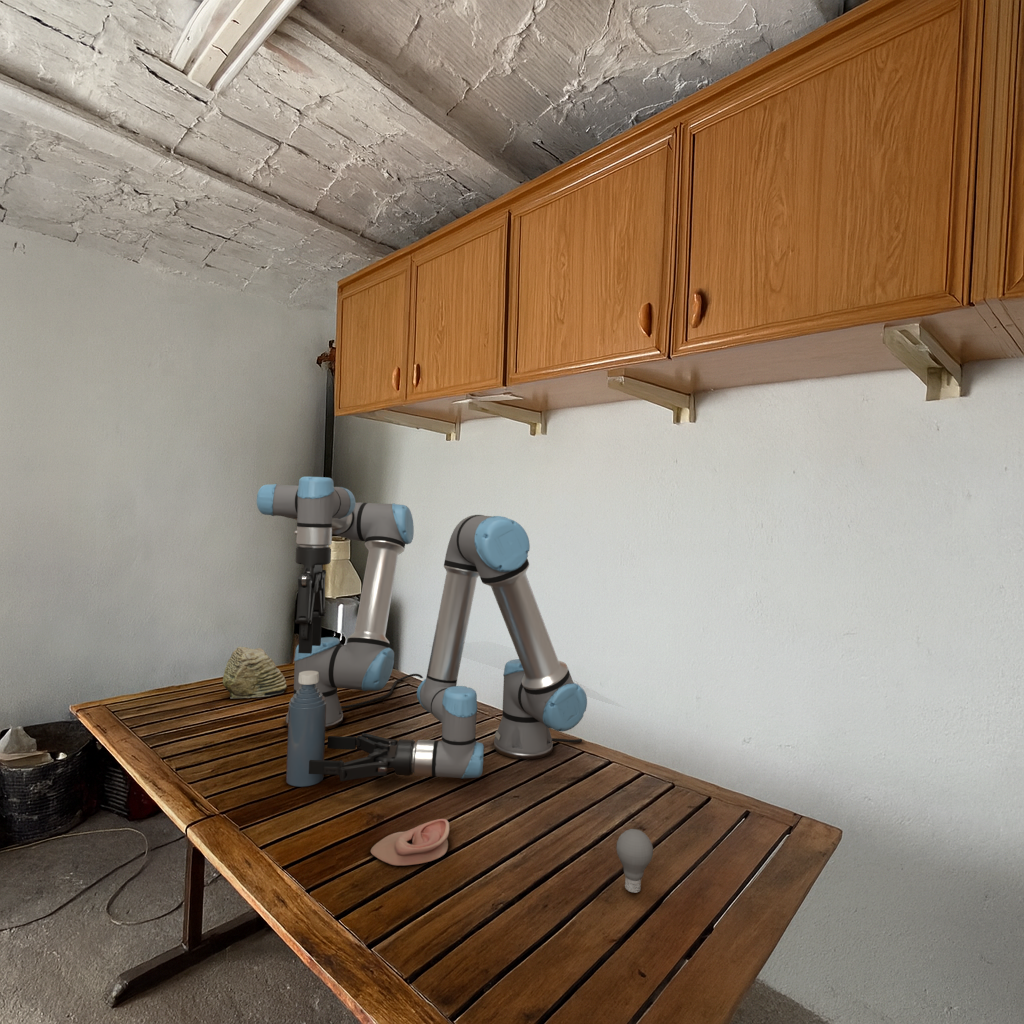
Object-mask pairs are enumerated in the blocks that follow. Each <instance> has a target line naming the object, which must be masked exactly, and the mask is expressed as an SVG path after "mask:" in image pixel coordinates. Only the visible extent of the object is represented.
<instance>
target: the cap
mask: <svg viewBox="0 0 1024 1024" xmlns="http://www.w3.org/2000/svg"><path fill="white" fill-rule="evenodd" d="M318 681H319V672H317V671H303V672H300V673H299V683H300V684H304V685H311V684H316V683H318Z"/></svg>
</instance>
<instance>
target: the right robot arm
mask: <svg viewBox="0 0 1024 1024" xmlns="http://www.w3.org/2000/svg"><path fill="white" fill-rule="evenodd" d="M530 545H531V543H530V539H529V536H528V533H527V531H526V529H525V528H524V527H523V526H522V525H521V524H520V523H519V522H517V521H515V520H514V519H511V518H508V517H506V516H501V515H493V516H492V515H483V514H473V515H469V516H466V517H465V518H463V519H462V520H461V521H459V522H458V523H457V525H456V526H455V527H454V529H453V531H452V533H451V535H450V537H449V541H448V544H447V548H446V552H445V556H444V563H443V567H444V569H445V571H446V573H445V574H446V575H445V579H444V584H443V589H442V594H441V599H440V603H439V610H438V614H437V615H438V616H437V620H436V625H435V631H434V635H433V642H432V646H431V652H430V656H429V660H428V661H429V662H428V666H427V672H426V676H425V677H426V678H425V679H423V680H422V681H421V682H420V683H419V685H418V687H417V690H416V699H417V701H418V703H419V704H420V705H421V707H422V708H423V709H424V711H426V712H428V713H430V714H431V715H432V716H433V717H434V718H435V719H436V720H437V721H439V722H440V723H441V740H435V739H417V741H416V740H414V739H403V738H401V739H399V740H398V739H390V738H385V737H382V736H378V735H374V734H370V733H366V732H363V733H361V735H358V736H344V735H343V736H342V735H341V736H339V735H328V736H327V740H326V748H327V750H350V751H351V750H352V751H355V750H356V751H363V752H365V753H367V754H368V755H367V756H365V757H361V758H356V759H353V760H349V761H346V762H345V761H343V760H342V759H340V760H325V759H324V760H310V761H309V774H323V775H326V776H338V777H339V781H340V782H346V781H353V780H358V779H365V778H370V777H376V776H378V777H379V776H380V777H381V776H382V777H383V776H387V775H388V769H393V770H394V774H395V775H396V776H402V777H404V776H405V777H406V776H407V777H411V776H412V775H414V776H415V777H424V778H425V779H428V778H429V777H434V778H435V777H437V778H452V779H453V778H455V779H462V780H463V779H477V778H480V777H482V775H483V774H484V773H483V772H484V758H485V757H484V755H485V745H484V743H483V742H479V741H477V739H476V729H477V715H478V714H477V713H478V695H477V691H476V690H475V688H472V687H467V686H465V685H457V684H458V677H459V671H460V668H461V663H462V657H463V654H464V653H463V652H464V647H465V642H466V637H467V632H468V627H469V621H470V616H471V613H472V606H473V601H474V596H475V592H476V591H475V590H476V587H477V580H478V578H480V581H481V583H482V584H483V585H486V586H489V587H490V588H491V590H492V593H493V595H494V599H495V600H496V604H497V607H498V608H499V611H500V613H501V617H502V619H503V621H504V624H505V626H506V629H507V631H508V634H509V637H510V639H511V643H512V644H513V647H514V649H515V651H516V655H517V657H518V658H516V659H511V660H508V661H507V662H506V663H505V664H504V669H503V689H502V712H501V713H502V714H501V715H502V716H501V719H500V722H499V725H498V727H497V730H496V731H495V733H494V739H493V741H494V742H493V748H494V751H496V752H497V753H498V754H499V755H502V756H505V757H507V758H512V759H518V760H537V759H542V758H544V757H547V756H549V755H551V754H552V752H553V745H554V743H553V742H555V743H556V742H558V743H569V744H570V743H571V744H572V743H573V744H575V743H576V744H578V743H582V742H583V739H582V738H578V739H577V738H576V739H572V738H571V739H570V738H560V737H559V738H557V737H552V734H551V729H552V730H554V731H556V732H566V731H569V730H571V729H574V728H575V727H576V726H577V725H578V724H579V723H580V722H581V721H582V719H583V717H584V714H585V712H586V711H587V708H588V697H587V693H586V692H585V690H584V689H583V687H582V686H581V685H580V684H578V683H575V682H574V681H573V678H572V675H571V673H570V669H569V667H568V665H567V664H566V663H565V662H564V661H561V660H559V659H558V656H557V653H556V651H555V648H554V645H553V643H552V640H551V637H550V635H549V631H548V629H547V626H546V623H545V621H544V619H543V615H542V613H541V610H540V607H539V605H538V602H537V599H536V596H535V594H534V592H533V589H532V587H531V584H530V581H529V579H528V575H527V571H528V570H529V567H530V562H529V559H528V556H529V552H530V550H531V549H530V548H531V546H530Z"/></svg>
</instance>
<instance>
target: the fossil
mask: <svg viewBox="0 0 1024 1024" xmlns="http://www.w3.org/2000/svg"><path fill="white" fill-rule="evenodd" d="M222 676H223V677H222V685H223V687H224V688H225V690H226V691H228V693H229V698H230V699H250V698H264V697H271V696H275V695H281V694H284V693H285V691H286V689H287V687H288V686H287V680H286V678H285V676H284V674H283V673H282V672H281V669H279V668H278V667H277V665H276V663H275V662H274V660H273V659H272V658H271V657H270V656H269V655H268V654H267V653H266V652H265V650H264V649H263V648H260V647H258V648H251V647H247V646H246V647H245V646H238V647H237V648H236V649H235V650H233V651H232V653H231V656H230V657H229V659H228V660H227V663H226V666H225V668H224V671H223V675H222Z"/></svg>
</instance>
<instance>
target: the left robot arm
mask: <svg viewBox="0 0 1024 1024" xmlns="http://www.w3.org/2000/svg"><path fill="white" fill-rule="evenodd" d="M256 506H257V510H258V511H259V512H260V513H261V514H262V515H265V516H271V517H284V518H288V519H292V520H295V521H296V529H295V530H294V533H293V534H294V535H296V539H295V540H296V544H297V546H296V548H295V560H294V561H295V563H296V564H298V565H303V571H302V572H301V575H299V576H298V577H297V585H298V586H297V604H296V617H295V621H294V623H295V624H298V625H299V626H298V644H297V645H296V647H295V652H294V653H295V654H294V659H293V661H294V672H293V695H294V694H296V692H297V690H299V688H300V687H301V685H302V684H300V683H299V673H300V672H303V671H317V672H319V681H318V683H316V684H315V686H317V689H319V690H320V692H321V693H322V694H323V696H324V697H325V700H326V725H325V731H329V730H332V729H335V728H337V727H339V726H340V725H342V723H343V722H344V714H343V710H344V709H351V708H356V707H359V706H365V705H367V704H371V703H373V702H377V701H381V700H383V699H386V698H388V697H389V696H391V695H392V694H393V691H394V689H395V688H396V685H397V684H398V683H399V682H402V681H403V680H406V679H409V678H412V677H419V678H420V679H423V678H424V677H423V675H422V674H419V673H410V674H407V675H405V676H403V677H400V678H397V679H395V681H394V682H393V684H392V686H391V688H390V690H389V692H387V693H386V694H384V695H382V696H379V697H375V698H372V699H369V700H368V699H367V700H365V701H364V700H363V701H361V702H356V703H352V704H347V705H341V702H340V699H339V695H338V689H345V690H356V691H363V692H368V691H370V692H377V691H381V690H382V689H384V687H385V686H386V685H387V684H388V682H389V680H390V678H391V675H392V673H393V670H394V666H395V665H394V664H395V652H394V650H393V649H392V648H391V647H390V641H389V639H388V638H387V637H386V633H387V628H388V620H389V614H390V609H391V602H392V596H393V591H394V583H395V577H396V571H397V566H398V565H397V564H398V559H399V556H400V554H401V555H402V553H403V552H405V549H406V545H410V544H412V542H413V539H414V536H415V535H414V533H415V530H414V527H415V525H414V519H413V514H412V512H411V509H410V508H409V507H408V506H407V505H405V504H400V503H399V504H398V503H384V502H383V503H381V502H379V503H378V502H362V501H361V502H356V497H355V495H354V494H353V492H352V491H351V490H349V489H348V488H346V487H343V486H335V485H334V480H333V478H331V477H326V476H325V477H324V476H301V477H300V478H299V480H298V485H296V484H295V485H292V484H277V483H274V484H273V483H272V484H271V483H269V484H264V485H262V486H261V487H260V488H259V489H258V491H257V494H256ZM333 535H336V536H339V537H341V538H345V539H348V540H353V541H357V542H364V547H365V549H367V550H368V554H367V559H366V565H365V569H364V575H363V581H362V586H361V587H362V589H361V592H360V598H359V604H358V610H357V615H356V621H355V625H354V626H355V627H354V632H353V633H351V634H350V635H349V636H348V637H347V641H346V644H341V641H340V639H339V638H338V637H334V636H325V637H322V624H323V623H322V622H323V617H326V615H327V612H325V611H326V576H327V570H326V569H323V566H325V565H329V564H331V562H332V548H331V545H332V542H333ZM288 714H289V706H288V711H287V713H286V715H285V726H286V728H288Z"/></svg>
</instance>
